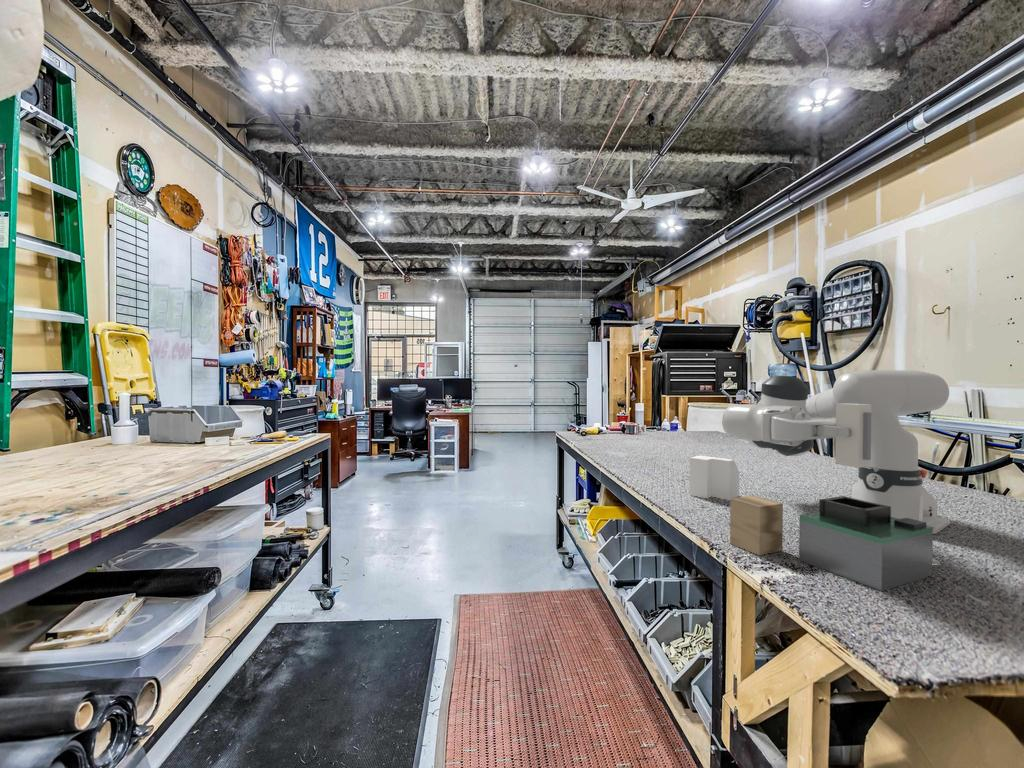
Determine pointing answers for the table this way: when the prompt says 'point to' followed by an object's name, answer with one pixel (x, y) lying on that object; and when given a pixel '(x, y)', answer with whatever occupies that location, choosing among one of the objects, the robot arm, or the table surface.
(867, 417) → the keyed plug
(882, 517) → the green-topped socket block
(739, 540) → the parts stand
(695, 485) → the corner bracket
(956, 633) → the table surface
